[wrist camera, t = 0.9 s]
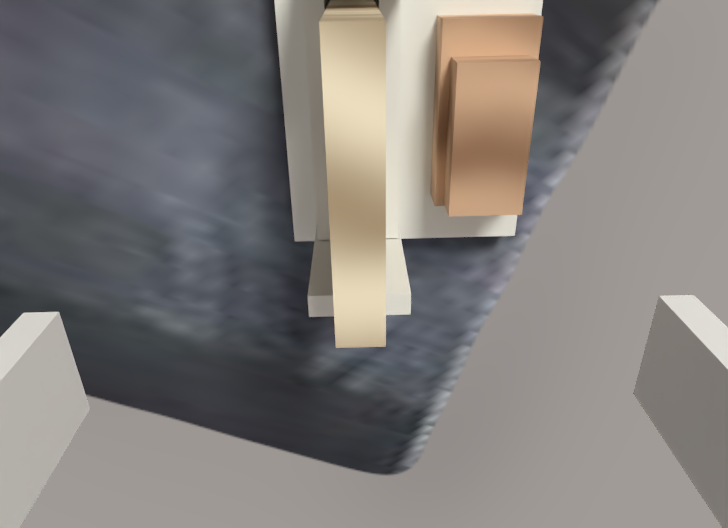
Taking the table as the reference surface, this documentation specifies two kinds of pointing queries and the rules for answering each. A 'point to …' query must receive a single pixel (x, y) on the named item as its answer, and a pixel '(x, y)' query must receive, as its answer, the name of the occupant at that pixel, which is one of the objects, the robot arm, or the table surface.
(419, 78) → the board rack
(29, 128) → the table surface
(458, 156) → the offcut upper
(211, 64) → the table surface
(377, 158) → the birch board
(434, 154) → the offcut lower
